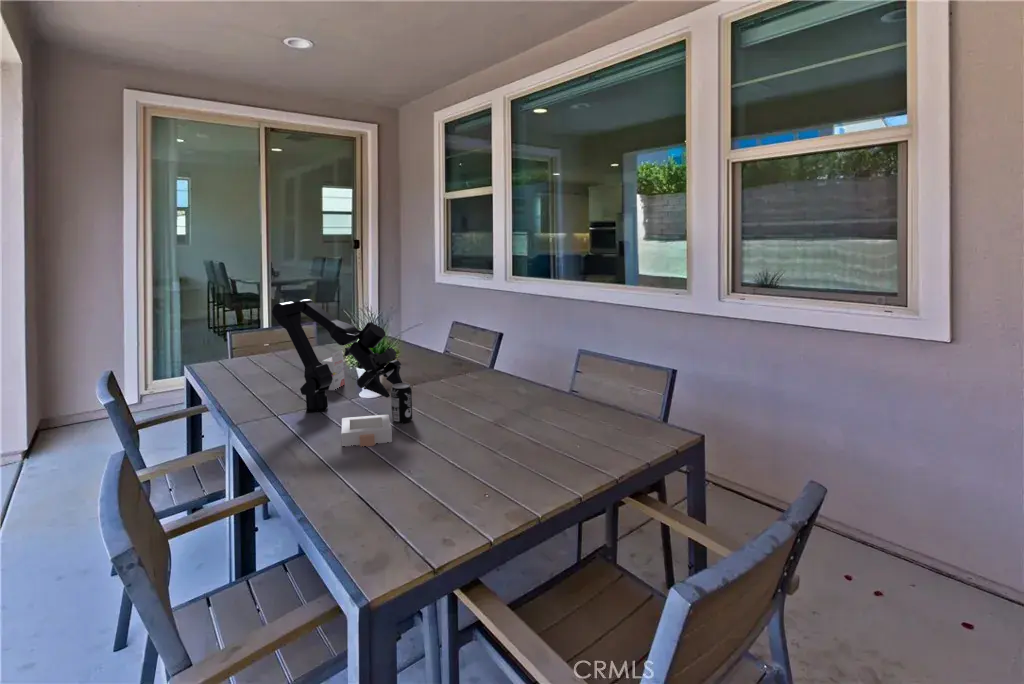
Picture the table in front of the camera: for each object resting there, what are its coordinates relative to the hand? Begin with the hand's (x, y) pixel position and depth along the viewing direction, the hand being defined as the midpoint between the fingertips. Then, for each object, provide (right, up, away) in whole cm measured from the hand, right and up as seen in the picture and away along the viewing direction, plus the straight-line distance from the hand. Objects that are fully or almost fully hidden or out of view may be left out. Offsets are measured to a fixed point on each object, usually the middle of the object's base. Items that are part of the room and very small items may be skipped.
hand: (396, 392), depth 178 cm
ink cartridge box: (-33, -2, +40) cm, 52 cm away
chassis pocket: (-6, -12, -13) cm, 18 cm away
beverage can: (+2, -9, +1) cm, 10 cm away
